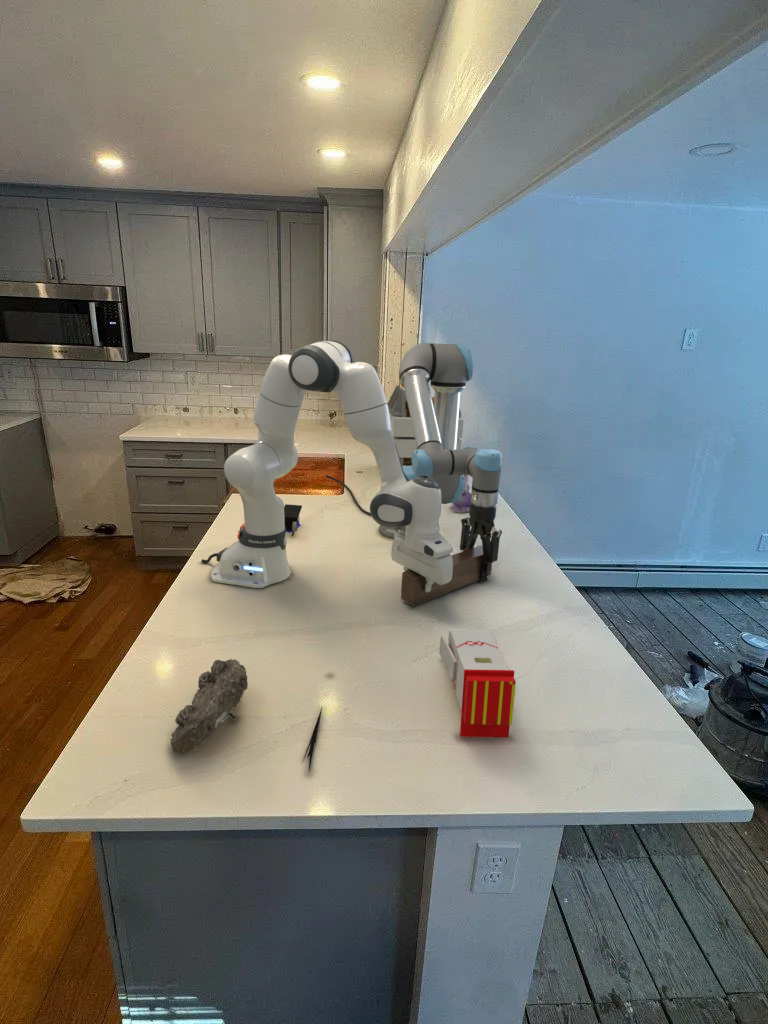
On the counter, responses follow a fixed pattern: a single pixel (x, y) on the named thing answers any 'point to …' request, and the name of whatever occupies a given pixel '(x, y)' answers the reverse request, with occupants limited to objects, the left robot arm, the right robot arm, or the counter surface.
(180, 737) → the fossil
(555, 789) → the counter surface
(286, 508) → the figurine character
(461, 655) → the toy
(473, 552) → the walnut beam
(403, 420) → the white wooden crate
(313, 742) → the feather
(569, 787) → the counter surface
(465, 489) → the figurine
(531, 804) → the counter surface
